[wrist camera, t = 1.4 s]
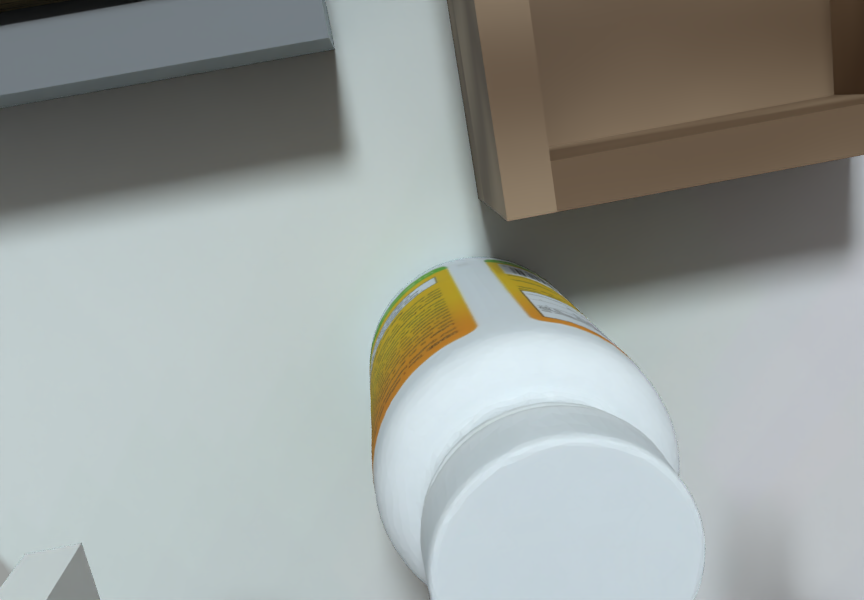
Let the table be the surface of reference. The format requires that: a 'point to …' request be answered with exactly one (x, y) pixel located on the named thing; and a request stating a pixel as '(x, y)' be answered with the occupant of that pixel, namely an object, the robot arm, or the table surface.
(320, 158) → the table surface
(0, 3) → the contact pad
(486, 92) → the trough
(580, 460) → the supplement bottle
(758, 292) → the table surface
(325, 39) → the grey stepped block
